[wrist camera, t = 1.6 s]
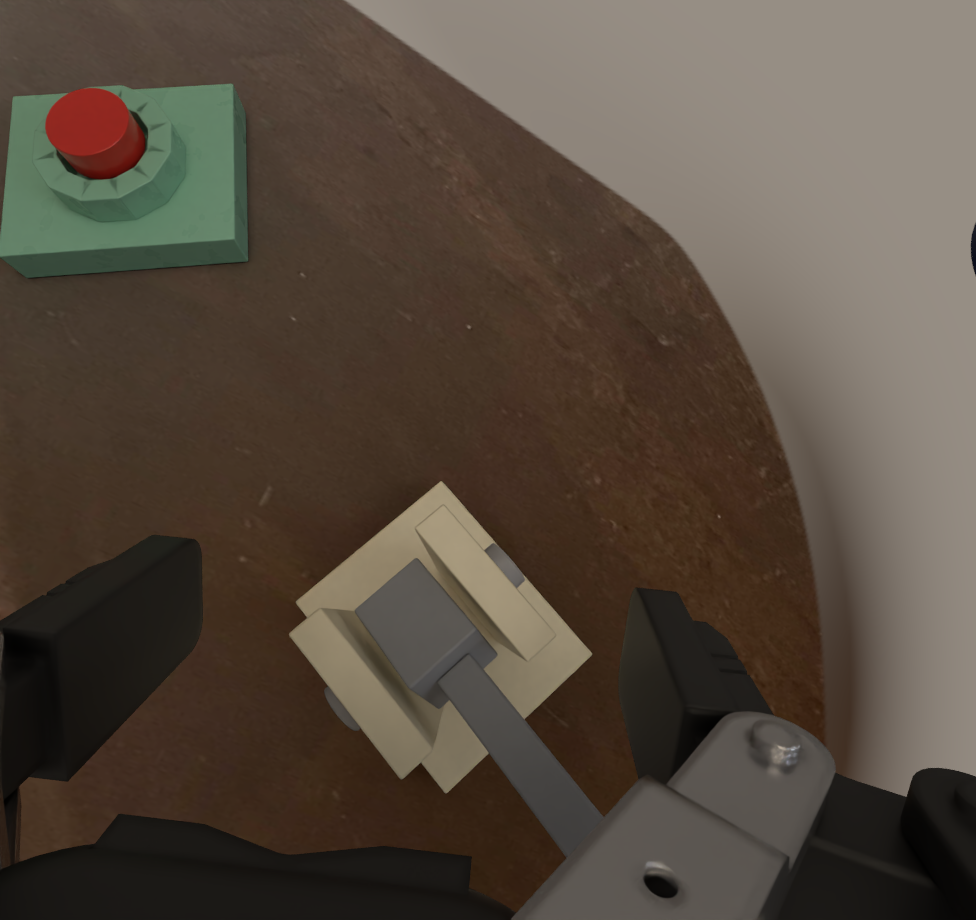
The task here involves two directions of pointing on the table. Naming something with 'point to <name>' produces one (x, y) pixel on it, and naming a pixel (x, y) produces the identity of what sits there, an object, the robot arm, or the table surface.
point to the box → (131, 189)
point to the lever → (472, 694)
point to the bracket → (485, 601)
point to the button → (95, 133)
